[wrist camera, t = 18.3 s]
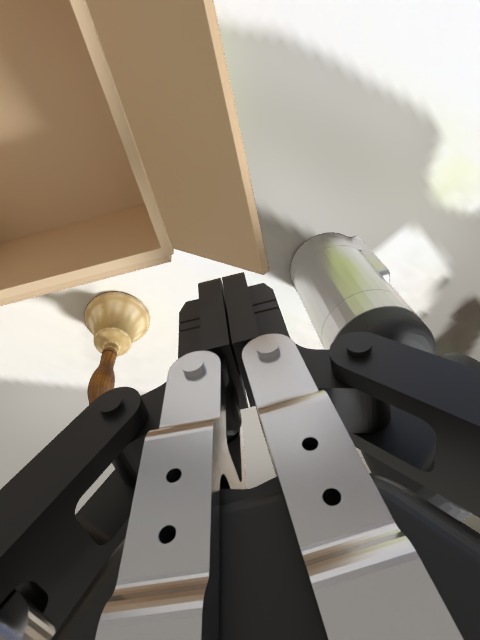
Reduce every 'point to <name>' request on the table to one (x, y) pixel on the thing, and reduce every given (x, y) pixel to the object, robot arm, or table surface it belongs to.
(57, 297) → the table surface
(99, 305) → the hand bell
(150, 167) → the panel
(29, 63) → the carton
